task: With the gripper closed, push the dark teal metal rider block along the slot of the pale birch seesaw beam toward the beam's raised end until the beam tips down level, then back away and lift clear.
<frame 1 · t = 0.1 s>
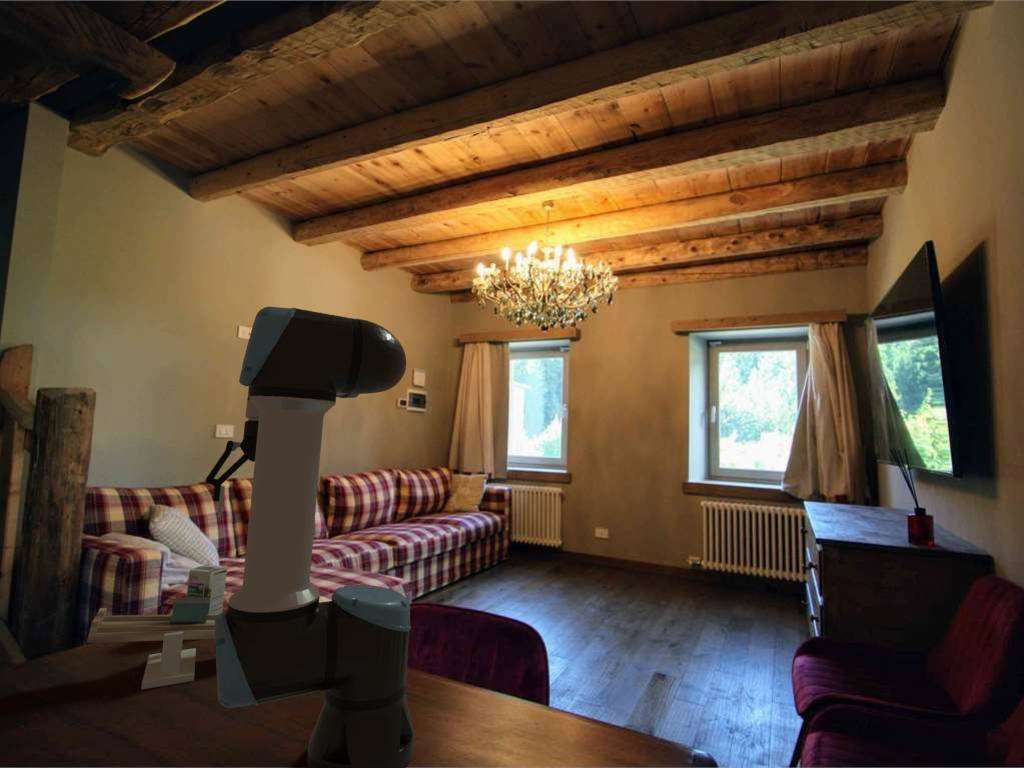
hand: (254, 515, 114), 28 cm above the table, tool pointing down, fingers open, 13 cm apart
rider: (187, 624, 101), point 8 cm above the table, tilted 6°, touching balance beam
syrup box: (201, 633, 117), on the table
pivot stand: (170, 670, 99), on the table
balance beam: (174, 631, 99), point 7 cm above the table, hinge at 6.5°, touching rider
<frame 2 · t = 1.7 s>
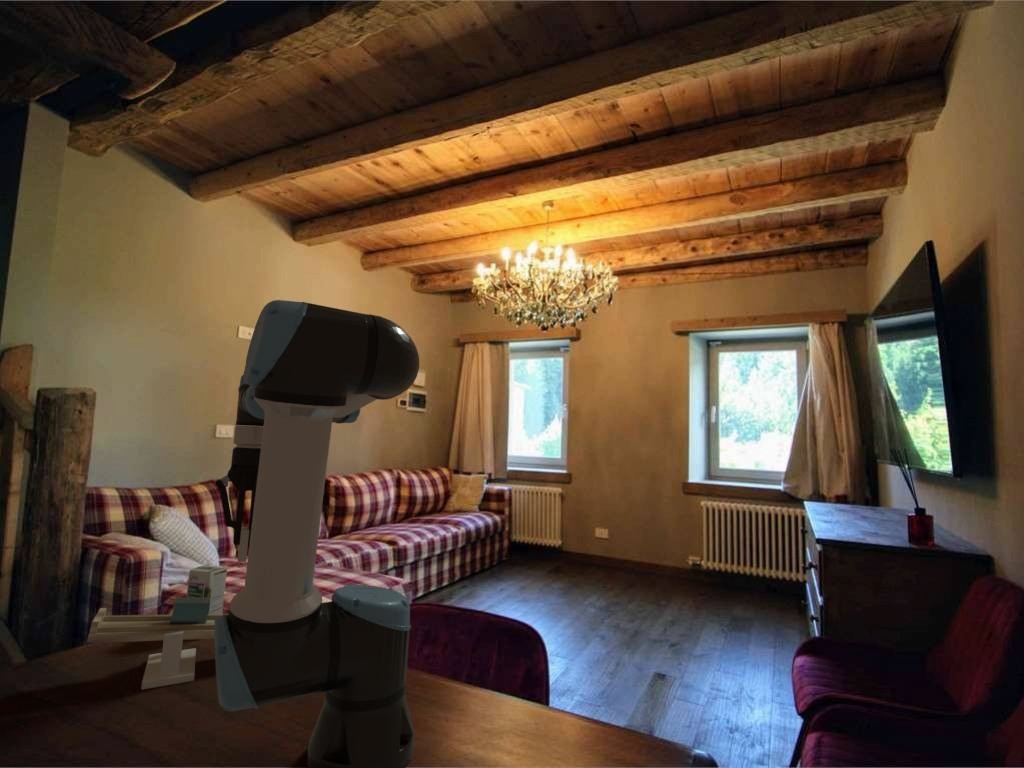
hand: (241, 560, 106), 20 cm above the table, tool pointing down, fingers closed
nothing on the table moved.
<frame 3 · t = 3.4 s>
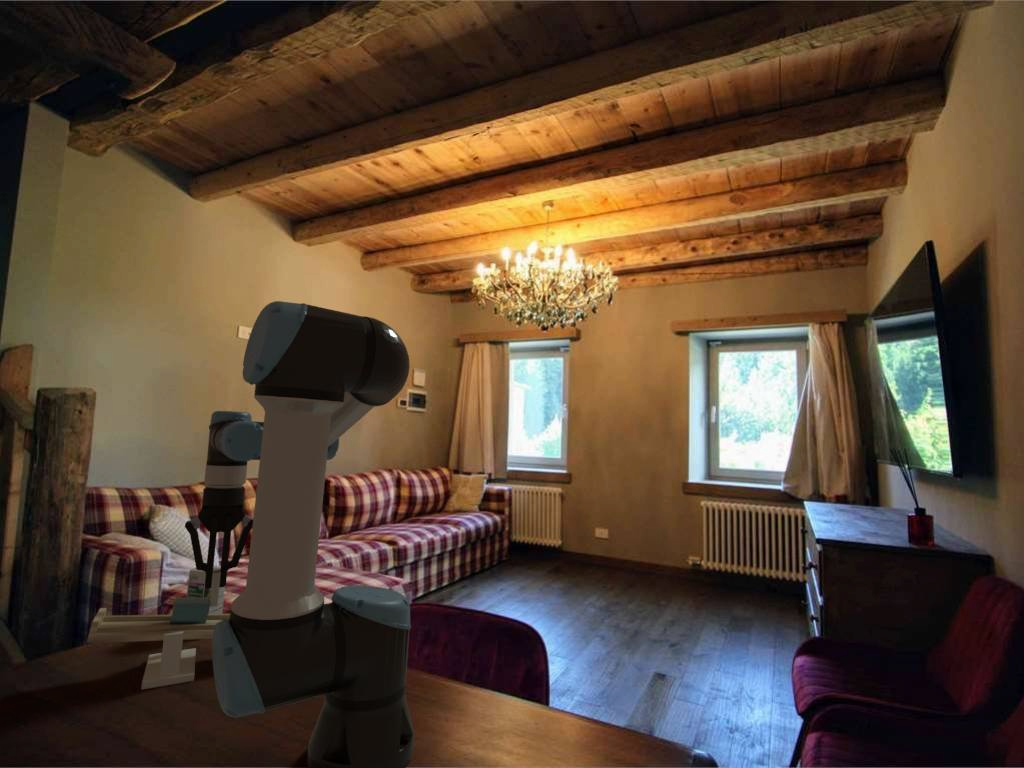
hand: (213, 604, 103), 12 cm above the table, tool pointing down, fingers closed
rider: (187, 624, 101), point 8 cm above the table, tilted 6°, touching gripper
balance beam: (174, 631, 99), point 7 cm above the table, hinge at 6.4°
everything else where it was.
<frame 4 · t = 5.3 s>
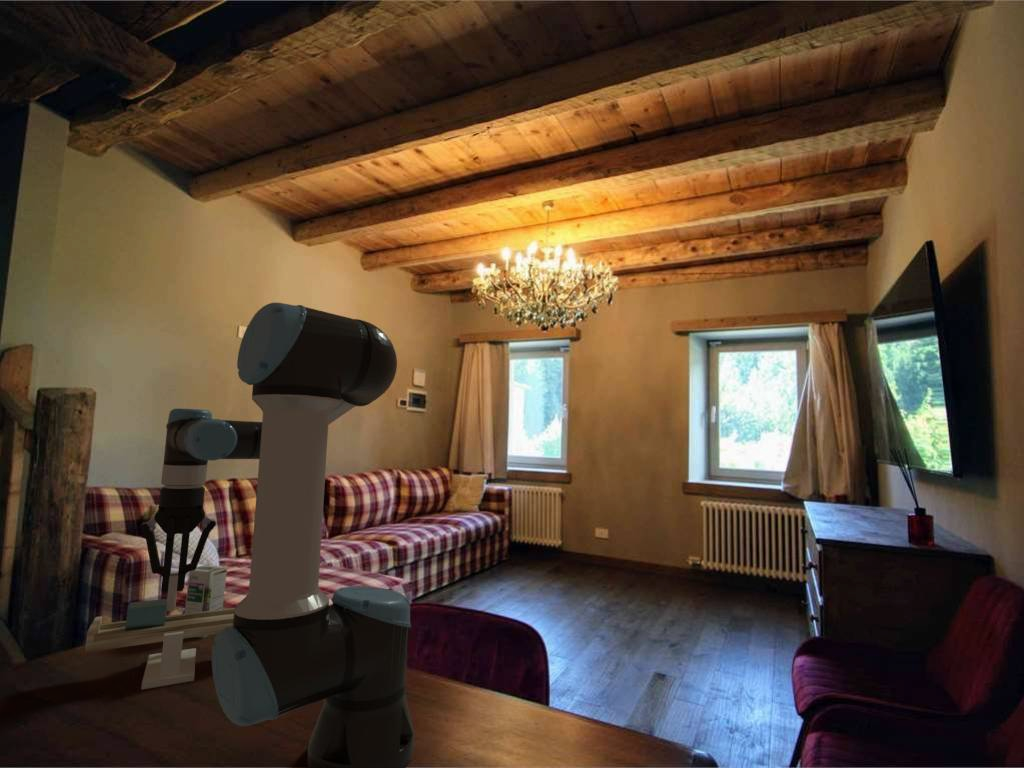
hand: (170, 608, 100), 12 cm above the table, tool pointing down, fingers closed
rider: (145, 628, 97), point 8 cm above the table, touching balance beam, gripper
balance beam: (174, 631, 99), point 7 cm above the table, hinge at -0.5°, touching rider
everything else where it was.
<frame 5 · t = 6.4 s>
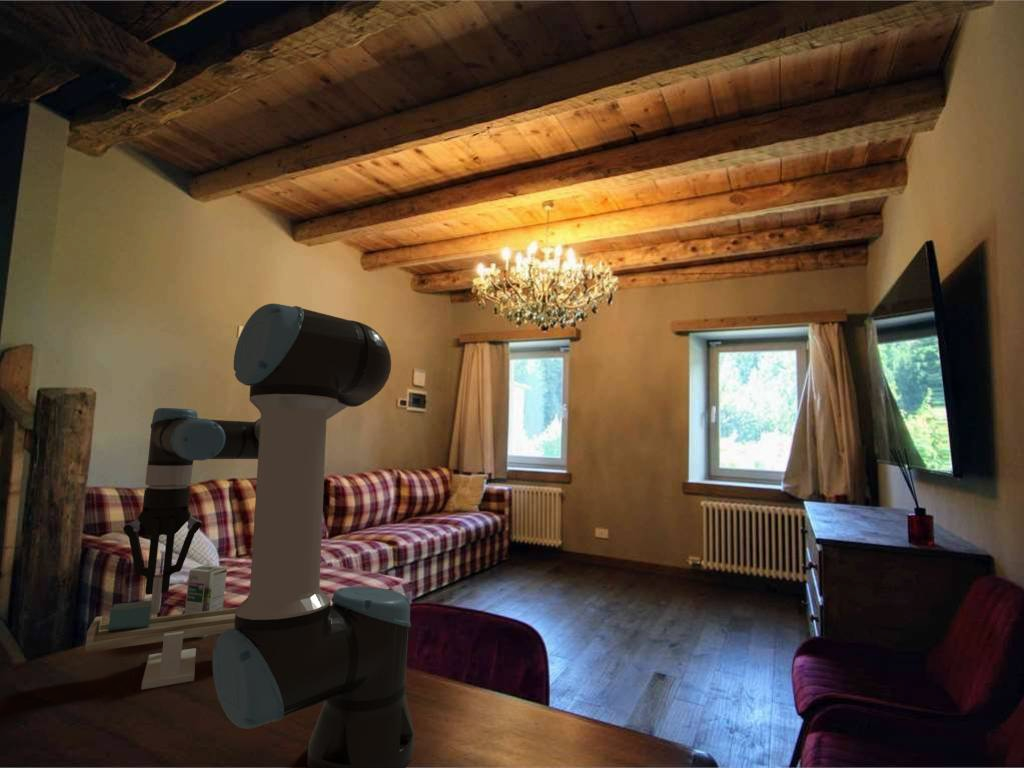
hand: (155, 610, 98), 11 cm above the table, tool pointing down, fingers closed
rider: (129, 630, 96), point 8 cm above the table, touching balance beam, gripper
everything else where it was.
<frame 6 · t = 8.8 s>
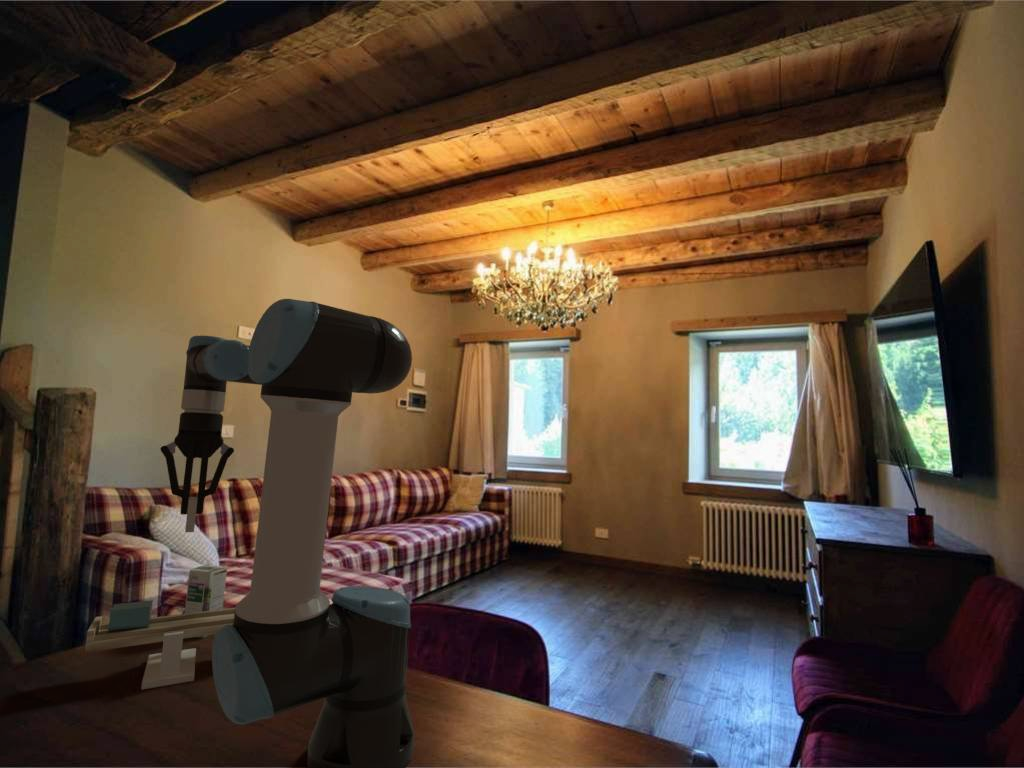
hand: (189, 531, 101), 26 cm above the table, tool pointing down, fingers closed
rider: (129, 630, 96), point 8 cm above the table, touching balance beam
everything else where it was.
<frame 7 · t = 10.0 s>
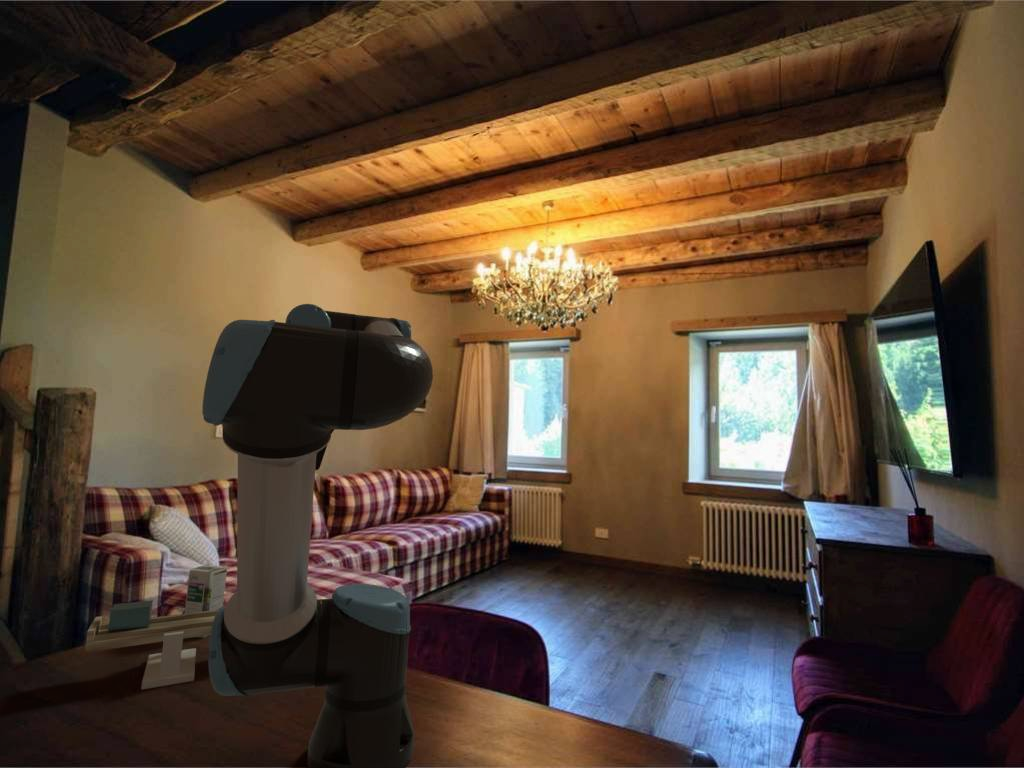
hand: (295, 506, 99), 32 cm above the table, tool pointing down, fingers closed
nothing on the table moved.
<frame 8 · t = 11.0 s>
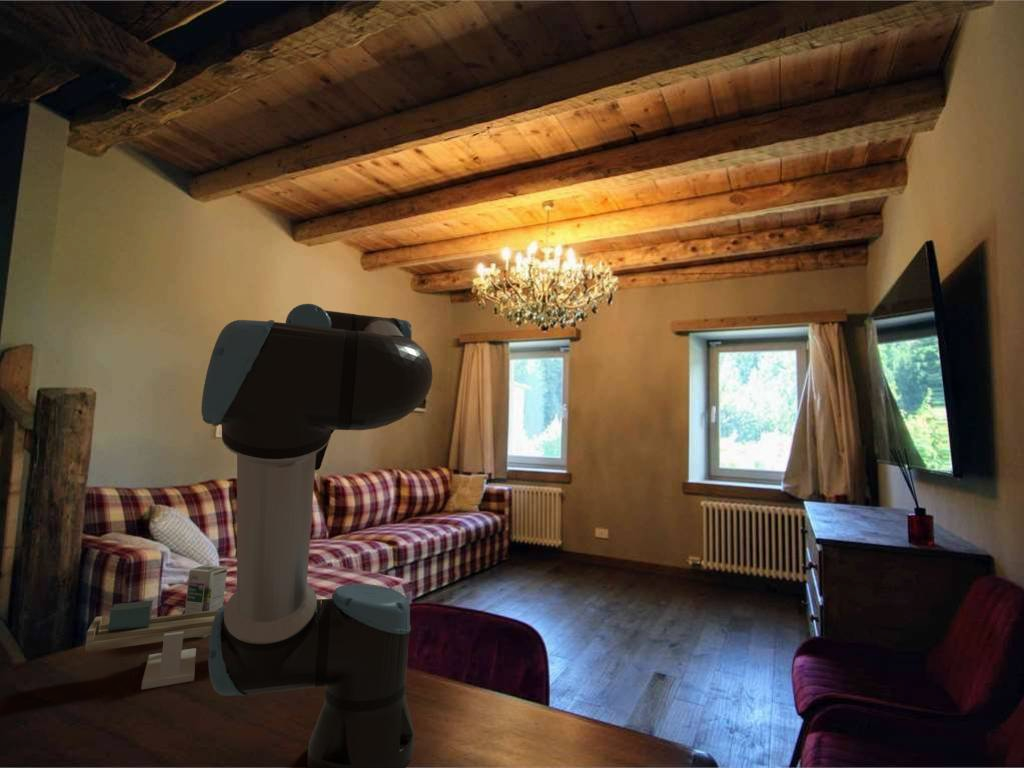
hand: (295, 506, 99), 32 cm above the table, tool pointing down, fingers closed
nothing on the table moved.
at the end: balance beam at +0° (first picture: +6°); rider 1.3 cm from the target spot, point 8.4 cm above the table; the gripper is holding nothing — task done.
